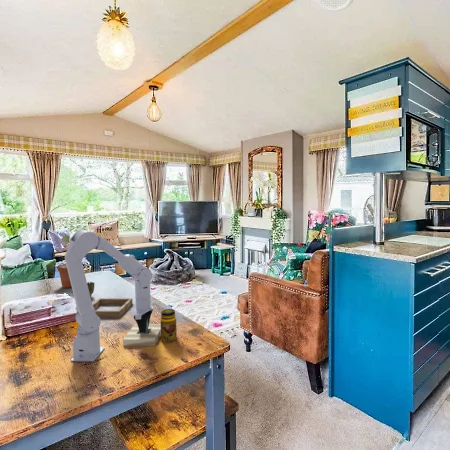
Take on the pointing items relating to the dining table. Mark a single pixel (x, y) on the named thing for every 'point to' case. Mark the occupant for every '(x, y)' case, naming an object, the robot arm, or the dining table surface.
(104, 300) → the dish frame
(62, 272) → the potted plant
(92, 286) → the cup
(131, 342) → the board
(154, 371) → the dining table surface
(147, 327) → the peg
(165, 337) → the condiment
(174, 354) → the dining table surface
